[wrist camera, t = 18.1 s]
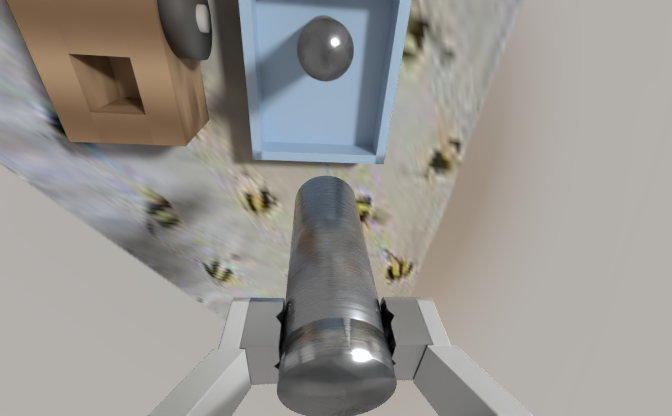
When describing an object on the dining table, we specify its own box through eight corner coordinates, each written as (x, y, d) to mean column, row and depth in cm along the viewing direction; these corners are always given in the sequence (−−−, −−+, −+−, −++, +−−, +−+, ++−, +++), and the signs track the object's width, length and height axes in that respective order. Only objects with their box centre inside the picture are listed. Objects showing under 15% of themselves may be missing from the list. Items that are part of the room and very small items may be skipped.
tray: (243, -36, 21) (234, -41, 19) (404, -22, 22) (415, -24, 20) (258, 145, 29) (253, 159, 27) (378, 150, 30) (383, 164, 28)
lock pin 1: (305, 12, 23) (298, 13, 15) (345, 18, 23) (357, 21, 15) (303, 56, 24) (295, 78, 17) (340, 61, 24) (349, 84, 17)
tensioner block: (22, -158, 18) (-91, -220, 13) (199, -137, 19) (157, -187, 14) (114, 115, 27) (69, 141, 22) (231, 121, 28) (213, 147, 23)
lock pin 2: (294, 175, 14) (274, 356, 7) (358, 176, 15) (407, 353, 7) (295, 226, 16) (279, 419, 8) (352, 227, 16) (386, 416, 9)
